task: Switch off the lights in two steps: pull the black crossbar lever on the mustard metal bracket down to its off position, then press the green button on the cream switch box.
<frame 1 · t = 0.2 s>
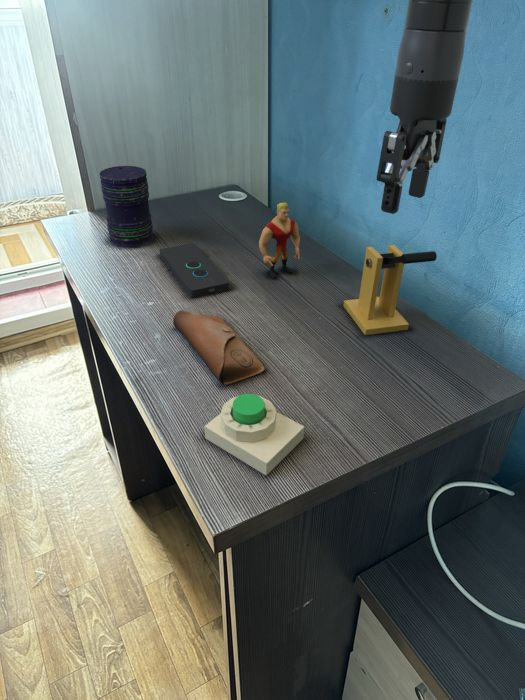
hand: (403, 203, 72), 24 cm above the table, tool pointing down, fingers open, 8 cm apart
action figure: (280, 274, 106), on the table
storage jar: (132, 239, 118), on the table
switch lever: (399, 259, 81), point 13 cm above the table, hinge at 28.0°
switch box: (254, 438, 67), on the table
smart home device: (192, 272, 105), on the table
sunglasses case: (217, 350, 83), on the table
light button: (248, 409, 65), point 5 cm above the table, slide at 0.2 cm
lever bracket: (374, 317, 92), on the table
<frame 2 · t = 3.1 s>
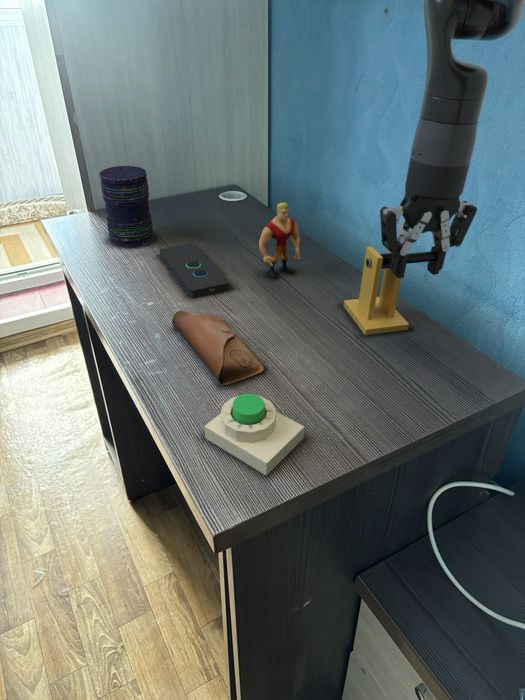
hand: (415, 273, 77), 14 cm above the table, tool pointing down, fingers closed on switch lever, 5 cm apart
switch lever: (399, 259, 81), point 13 cm above the table, hinge at 27.9°, touching gripper
everything else where it was.
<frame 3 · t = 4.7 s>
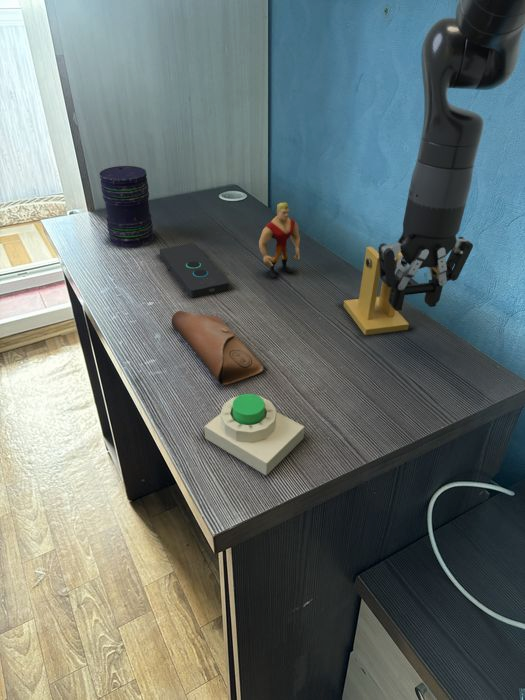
hand: (413, 305, 79), 9 cm above the table, tool pointing down, fingers closed on switch lever, 5 cm apart
switch lever: (398, 273, 82), point 11 cm above the table, hinge at 3.5°, touching gripper
everything else where it was.
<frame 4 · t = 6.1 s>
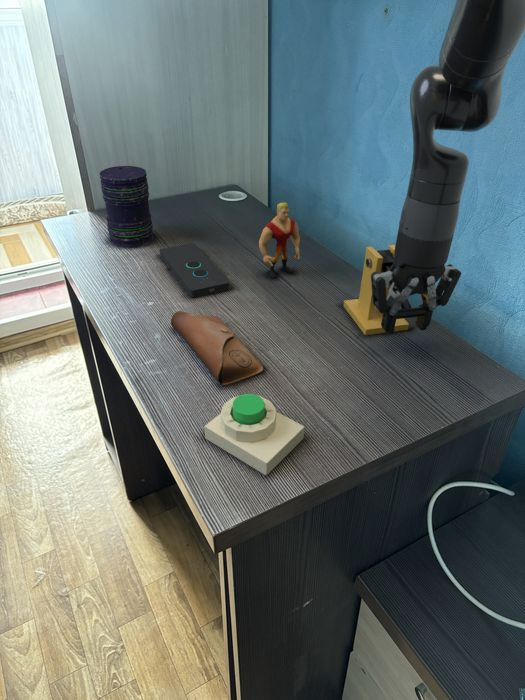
hand: (404, 329, 82), 4 cm above the table, tool pointing down, fingers closed on switch lever, 5 cm apart
switch lever: (395, 284, 83), point 9 cm above the table, hinge at -21.0°, touching gripper
everything else where it was.
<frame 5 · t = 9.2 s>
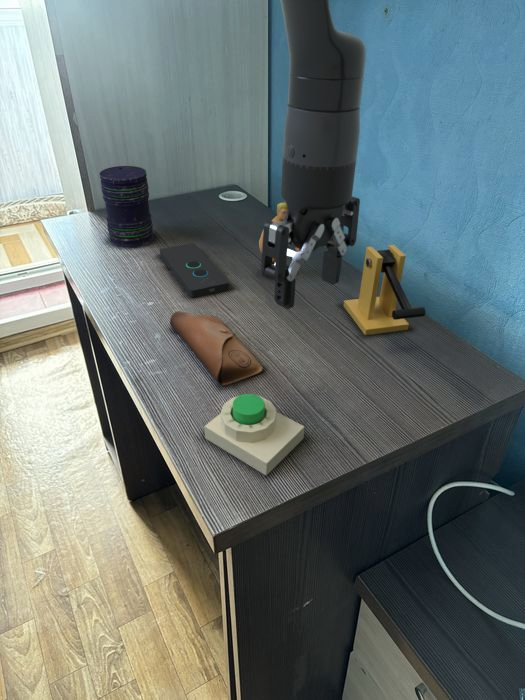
hand: (308, 293, 62), 18 cm above the table, tool pointing down, fingers open, 8 cm apart
switch lever: (395, 284, 83), point 9 cm above the table, hinge at -21.4°
everything else where it was.
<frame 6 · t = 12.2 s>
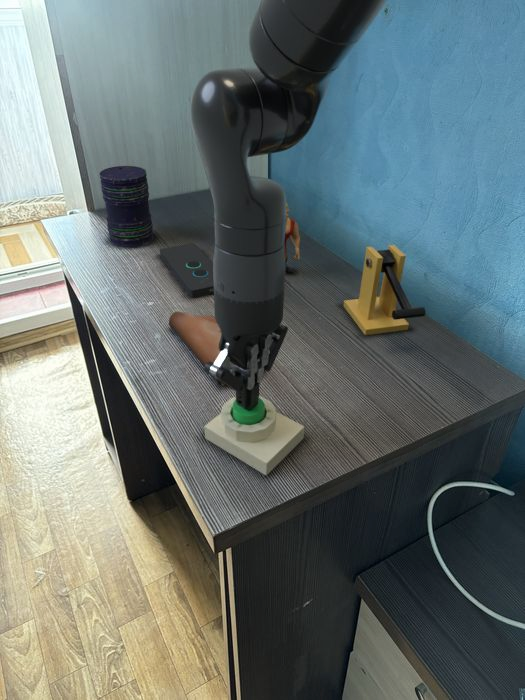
hand: (247, 405, 65), 5 cm above the table, tool pointing down, fingers closed
light button: (248, 410, 65), point 4 cm above the table, slide at 0.0 cm, touching gripper
everything else where it was.
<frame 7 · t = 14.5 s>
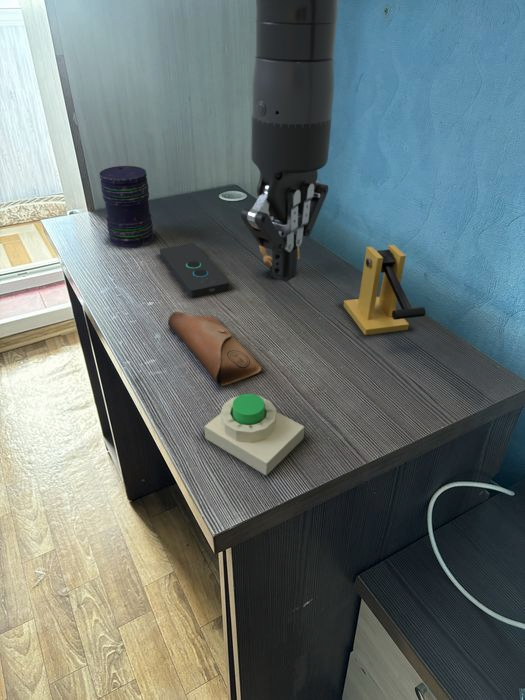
hand: (284, 277, 59), 21 cm above the table, tool pointing down, fingers closed
light button: (248, 409, 65), point 5 cm above the table, slide at 0.2 cm
everything else where it was.
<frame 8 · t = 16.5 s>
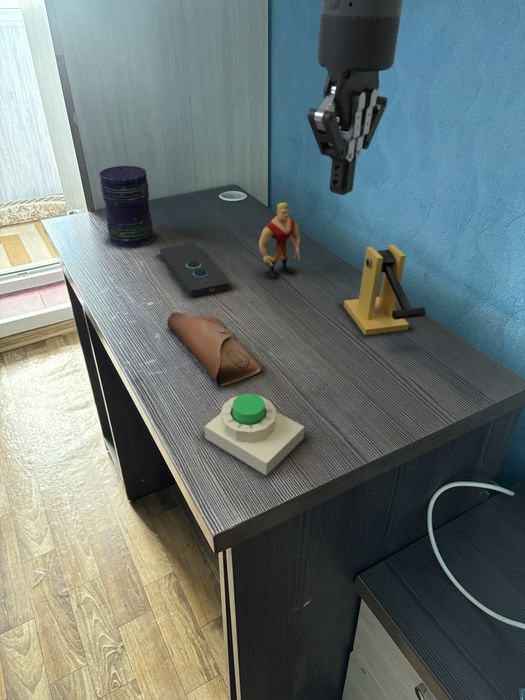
hand: (340, 191, 59), 29 cm above the table, tool pointing down, fingers closed
nothing on the table moved.
at the end: switch lever at -21° (first picture: +28°); light button pushed in 1.1 cm at the most during the clip, back to 0.2 cm at the end; light button slide at 0.2 cm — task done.
